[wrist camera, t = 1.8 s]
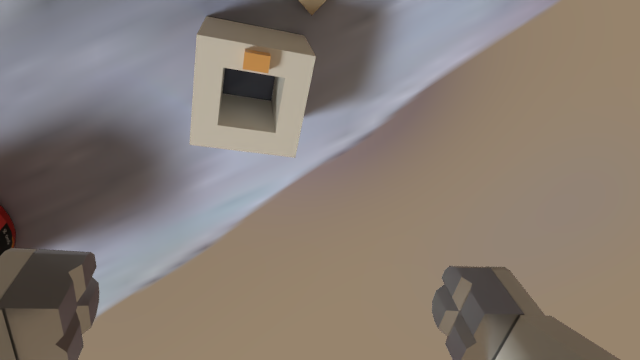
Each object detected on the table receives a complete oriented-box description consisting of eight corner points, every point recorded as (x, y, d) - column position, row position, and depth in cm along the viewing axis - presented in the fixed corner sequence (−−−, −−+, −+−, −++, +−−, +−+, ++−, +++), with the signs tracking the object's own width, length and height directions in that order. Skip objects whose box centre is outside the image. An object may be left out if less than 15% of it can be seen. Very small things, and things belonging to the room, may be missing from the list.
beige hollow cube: (199, 109, 25) (188, 149, 21) (206, 16, 23) (195, 37, 18) (287, 122, 27) (296, 162, 22) (304, 35, 24) (317, 59, 19)
